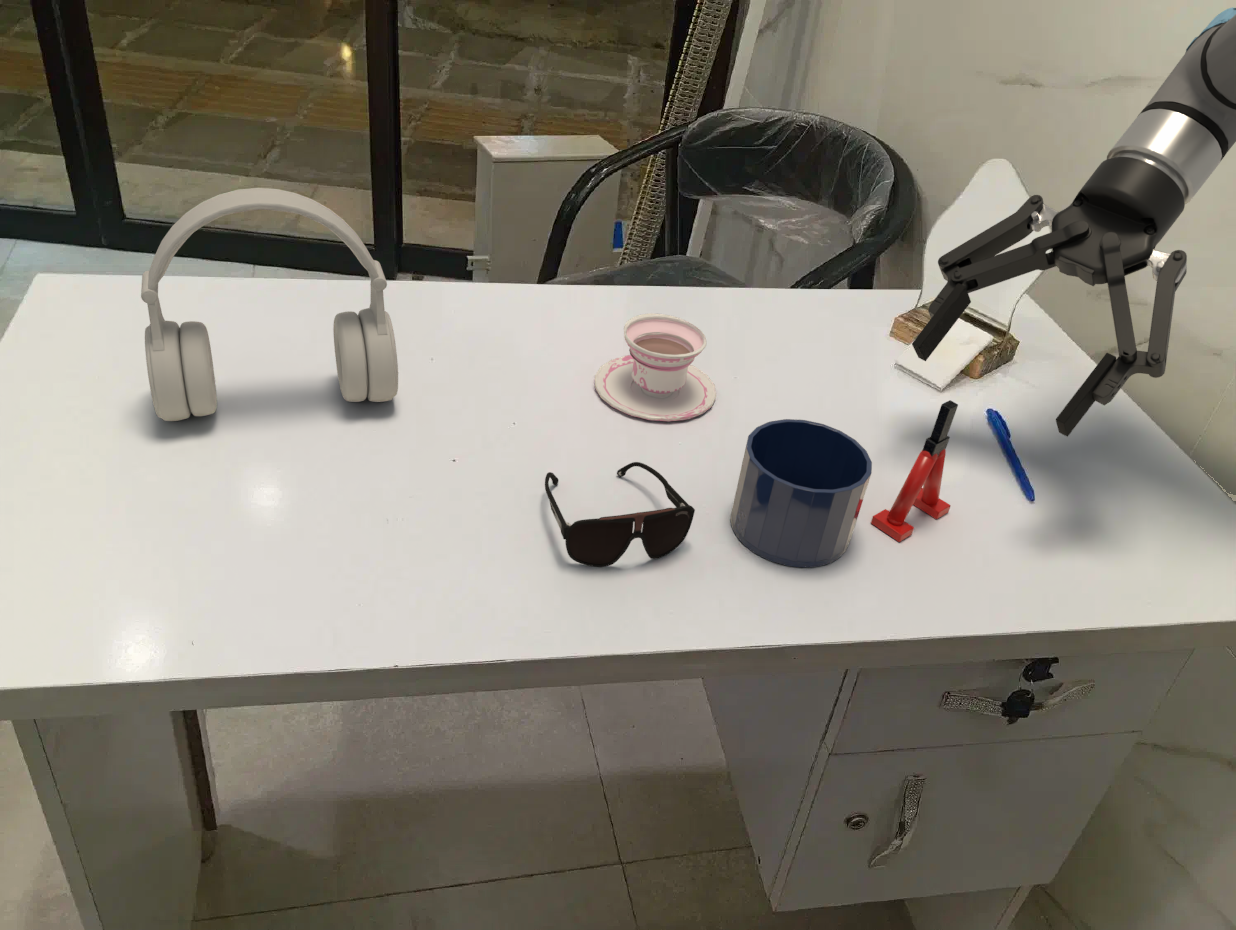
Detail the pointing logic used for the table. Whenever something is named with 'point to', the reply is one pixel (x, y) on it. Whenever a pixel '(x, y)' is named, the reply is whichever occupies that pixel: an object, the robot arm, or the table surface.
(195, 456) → the table surface
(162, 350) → the headphones
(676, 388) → the teacup
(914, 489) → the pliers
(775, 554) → the pen cup
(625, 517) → the sunglasses
